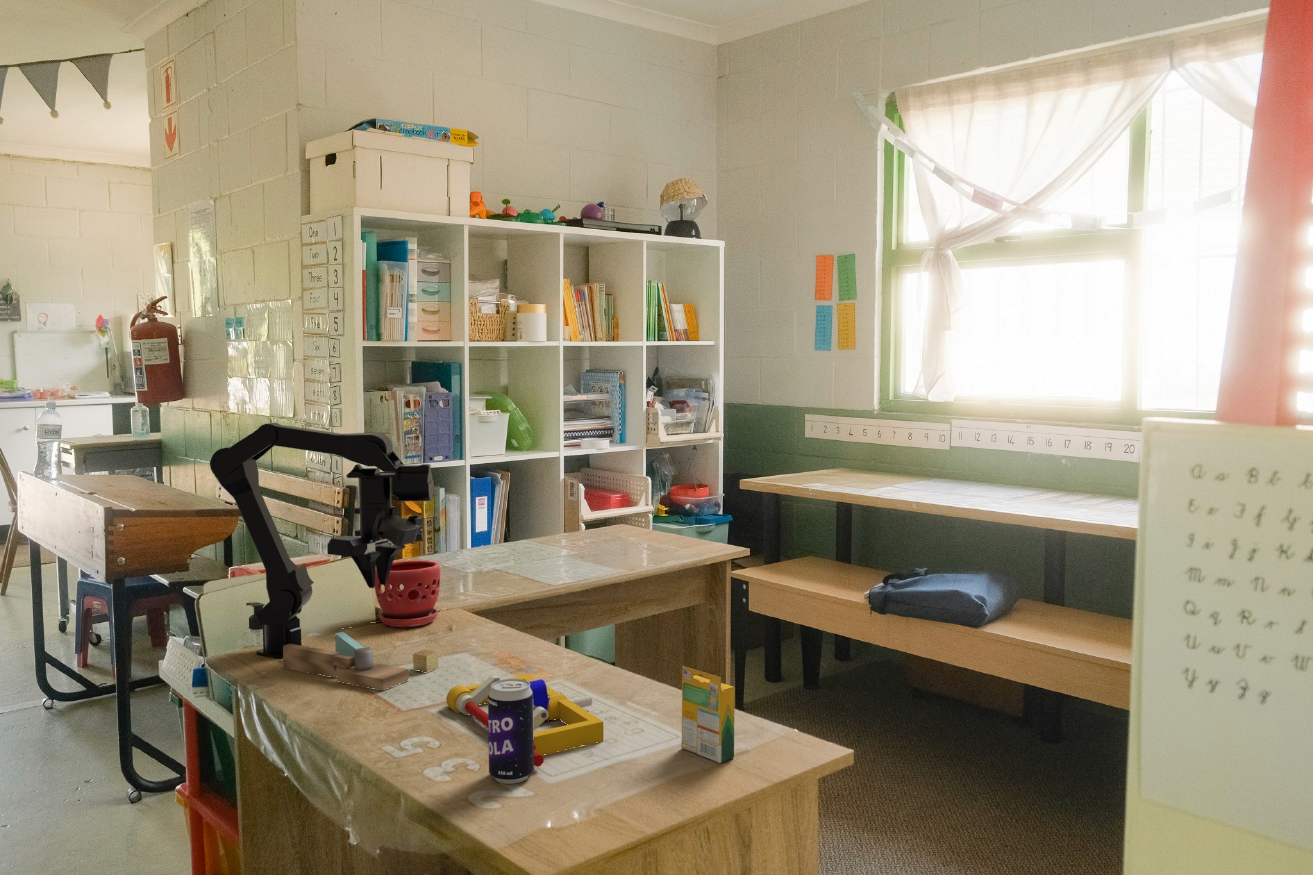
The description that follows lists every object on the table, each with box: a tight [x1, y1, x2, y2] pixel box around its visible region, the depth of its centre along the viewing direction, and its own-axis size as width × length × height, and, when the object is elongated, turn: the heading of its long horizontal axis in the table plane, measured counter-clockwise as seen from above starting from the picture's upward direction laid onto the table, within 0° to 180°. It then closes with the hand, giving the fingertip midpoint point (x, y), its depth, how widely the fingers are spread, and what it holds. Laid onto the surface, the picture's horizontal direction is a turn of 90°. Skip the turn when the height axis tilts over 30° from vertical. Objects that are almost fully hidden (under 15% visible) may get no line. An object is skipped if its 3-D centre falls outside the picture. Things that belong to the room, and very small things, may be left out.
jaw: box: [334, 631, 365, 657], centre depth 172 cm, size 15×2×4 cm, turn 34°
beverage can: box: [487, 678, 535, 785], centre depth 125 cm, size 6×6×12 cm
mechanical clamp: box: [445, 674, 604, 767], centre depth 143 cm, size 18×6×30 cm
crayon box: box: [681, 665, 736, 764], centre depth 132 cm, size 7×3×12 cm, turn 44°
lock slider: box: [412, 648, 439, 673], centre depth 169 cm, size 3×3×3 cm
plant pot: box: [374, 560, 441, 628], centre depth 200 cm, size 13×13×12 cm
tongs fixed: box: [282, 644, 410, 691], centre depth 166 cm, size 24×6×5 cm, turn 62°
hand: (377, 586), depth 180 cm, fingers open, 3 cm apart
